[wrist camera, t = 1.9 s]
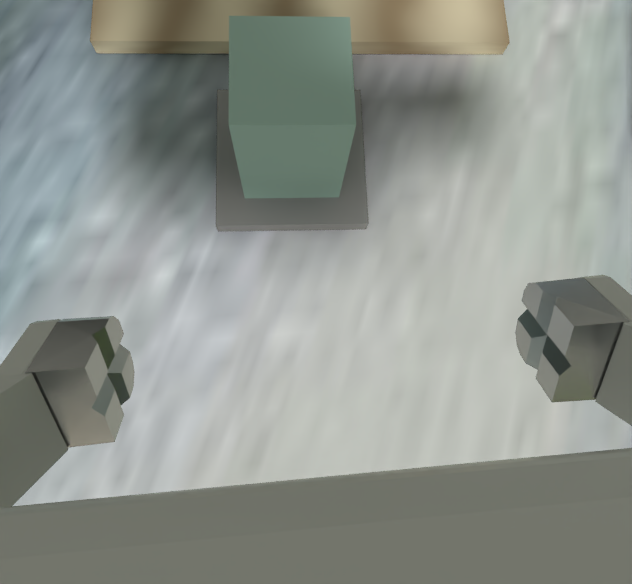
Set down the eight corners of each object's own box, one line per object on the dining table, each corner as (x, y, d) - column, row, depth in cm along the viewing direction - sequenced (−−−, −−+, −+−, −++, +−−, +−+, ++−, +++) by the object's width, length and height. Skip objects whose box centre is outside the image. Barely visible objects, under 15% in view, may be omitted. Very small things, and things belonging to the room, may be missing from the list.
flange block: (218, 232, 26) (188, 160, 19) (219, 100, 28) (193, -16, 20) (365, 230, 27) (396, 159, 19) (357, 100, 29) (383, -13, 21)
